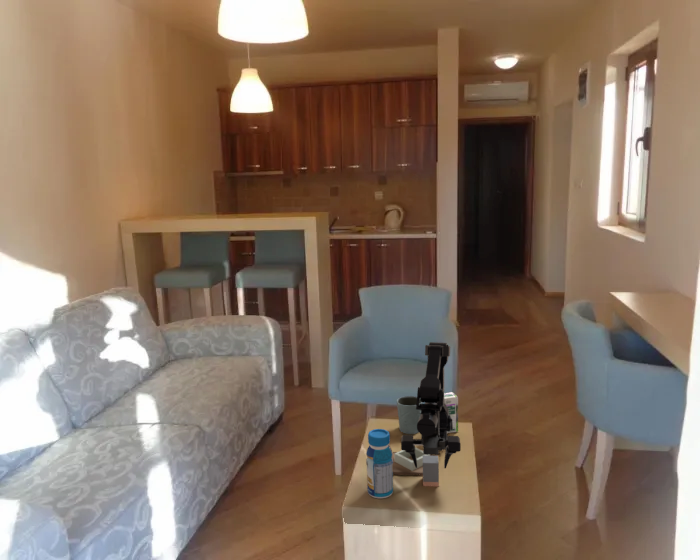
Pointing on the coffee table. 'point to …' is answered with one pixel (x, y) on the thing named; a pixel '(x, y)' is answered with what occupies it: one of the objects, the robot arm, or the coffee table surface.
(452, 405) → the syrup box
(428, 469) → the banded block
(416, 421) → the grey green cup
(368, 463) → the beverage bottle
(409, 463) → the holder collar
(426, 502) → the coffee table surface
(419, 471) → the walnut board
